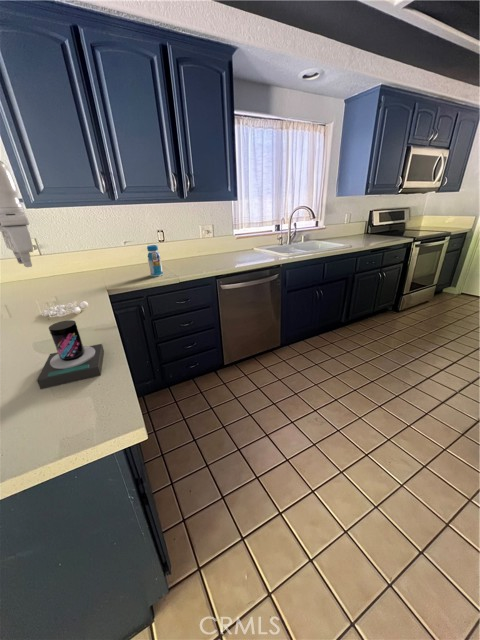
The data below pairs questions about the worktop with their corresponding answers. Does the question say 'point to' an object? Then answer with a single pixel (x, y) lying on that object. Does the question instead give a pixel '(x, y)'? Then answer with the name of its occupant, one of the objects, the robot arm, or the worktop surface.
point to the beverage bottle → (154, 261)
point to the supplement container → (67, 340)
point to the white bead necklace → (62, 309)
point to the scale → (71, 367)
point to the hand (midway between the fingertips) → (25, 265)
